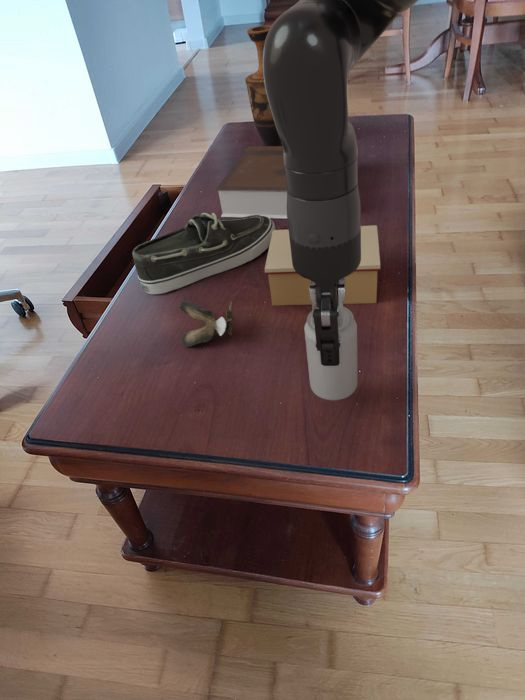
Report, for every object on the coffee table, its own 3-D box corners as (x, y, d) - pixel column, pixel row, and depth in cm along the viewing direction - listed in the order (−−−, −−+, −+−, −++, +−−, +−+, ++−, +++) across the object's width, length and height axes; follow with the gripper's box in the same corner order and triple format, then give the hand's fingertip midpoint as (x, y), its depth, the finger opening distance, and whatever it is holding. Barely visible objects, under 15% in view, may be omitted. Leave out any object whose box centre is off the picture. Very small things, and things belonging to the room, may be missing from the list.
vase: (250, 160, 141) (232, 35, 121) (261, 145, 148) (247, 24, 128) (288, 160, 138) (276, 32, 118) (298, 144, 145) (288, 21, 125)
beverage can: (345, 364, 73) (343, 296, 65) (365, 395, 68) (366, 325, 60) (303, 378, 72) (295, 310, 64) (321, 410, 67) (315, 341, 59)
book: (251, 171, 135) (248, 146, 131) (358, 171, 127) (358, 145, 123) (220, 216, 118) (215, 189, 114) (341, 220, 110) (341, 191, 106)
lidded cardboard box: (376, 263, 97) (377, 225, 91) (379, 304, 87) (380, 265, 82) (276, 266, 100) (272, 229, 95) (269, 307, 90) (264, 269, 85)
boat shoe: (289, 243, 106) (285, 199, 99) (158, 307, 95) (143, 262, 88) (259, 226, 113) (253, 184, 106) (134, 283, 102) (119, 240, 95)
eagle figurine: (232, 309, 89) (179, 308, 89) (233, 294, 83) (176, 292, 82) (231, 351, 87) (178, 350, 87) (233, 339, 80) (175, 338, 80)
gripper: (362, 261, 48) (362, 385, 59) (359, 192, 58) (360, 308, 69) (282, 265, 49) (297, 386, 60) (294, 196, 60) (305, 310, 71)
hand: (331, 344), depth 65 cm, fingers closed on beverage can, 6 cm apart
